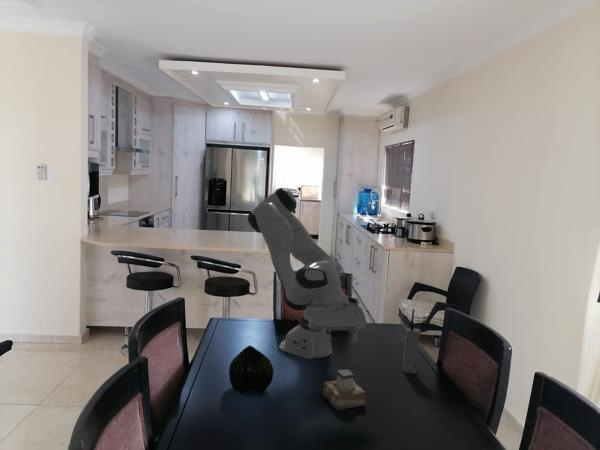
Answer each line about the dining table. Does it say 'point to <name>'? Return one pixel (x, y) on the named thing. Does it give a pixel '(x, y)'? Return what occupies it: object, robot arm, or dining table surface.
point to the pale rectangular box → (345, 380)
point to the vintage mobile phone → (410, 348)
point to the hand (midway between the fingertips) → (342, 341)
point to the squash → (250, 371)
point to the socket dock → (344, 396)
